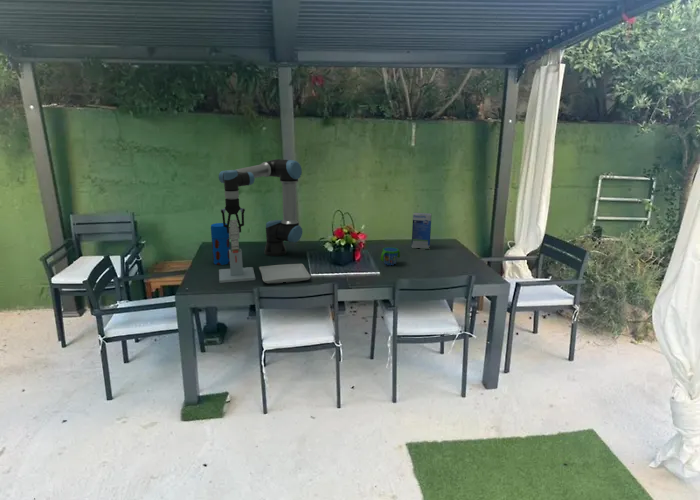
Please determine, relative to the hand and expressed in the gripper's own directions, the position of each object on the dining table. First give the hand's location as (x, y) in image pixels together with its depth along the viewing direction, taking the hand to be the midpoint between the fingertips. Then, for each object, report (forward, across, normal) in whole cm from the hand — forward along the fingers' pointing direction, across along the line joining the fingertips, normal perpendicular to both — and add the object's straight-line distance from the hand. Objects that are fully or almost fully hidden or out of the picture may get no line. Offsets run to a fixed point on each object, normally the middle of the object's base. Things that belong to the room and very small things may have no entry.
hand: (234, 238), depth 255 cm
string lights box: (+23, -133, -30) cm, 138 cm away
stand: (+23, 0, 0) cm, 23 cm away
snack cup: (+23, -97, +1) cm, 100 cm away
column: (+16, 0, 0) cm, 16 cm away
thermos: (+23, +8, -29) cm, 38 cm away
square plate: (+24, -27, +8) cm, 37 cm away
